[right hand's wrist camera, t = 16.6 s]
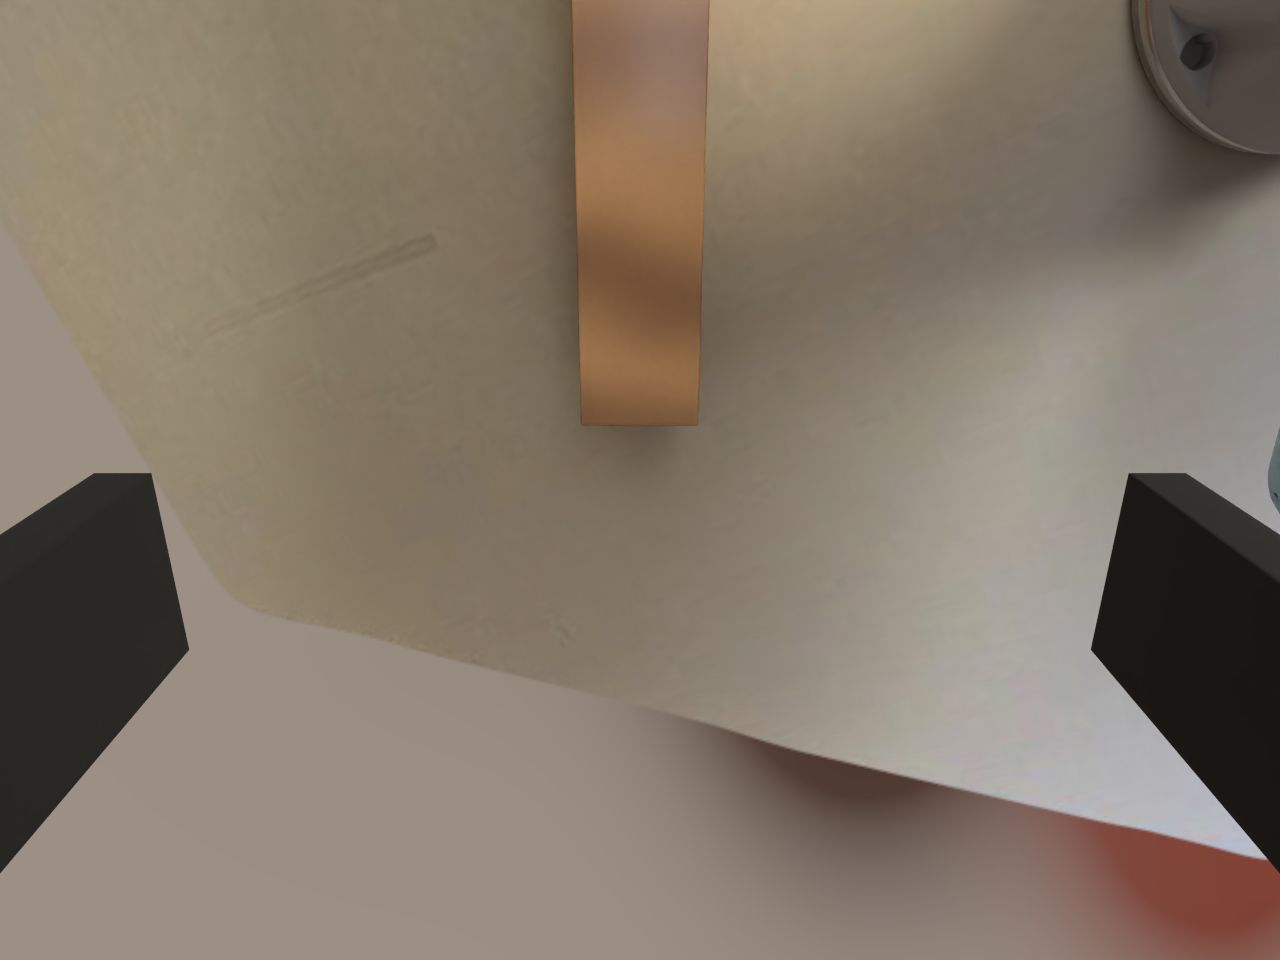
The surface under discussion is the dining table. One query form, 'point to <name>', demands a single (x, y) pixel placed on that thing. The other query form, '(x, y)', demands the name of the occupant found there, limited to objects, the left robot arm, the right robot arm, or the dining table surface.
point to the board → (639, 206)
